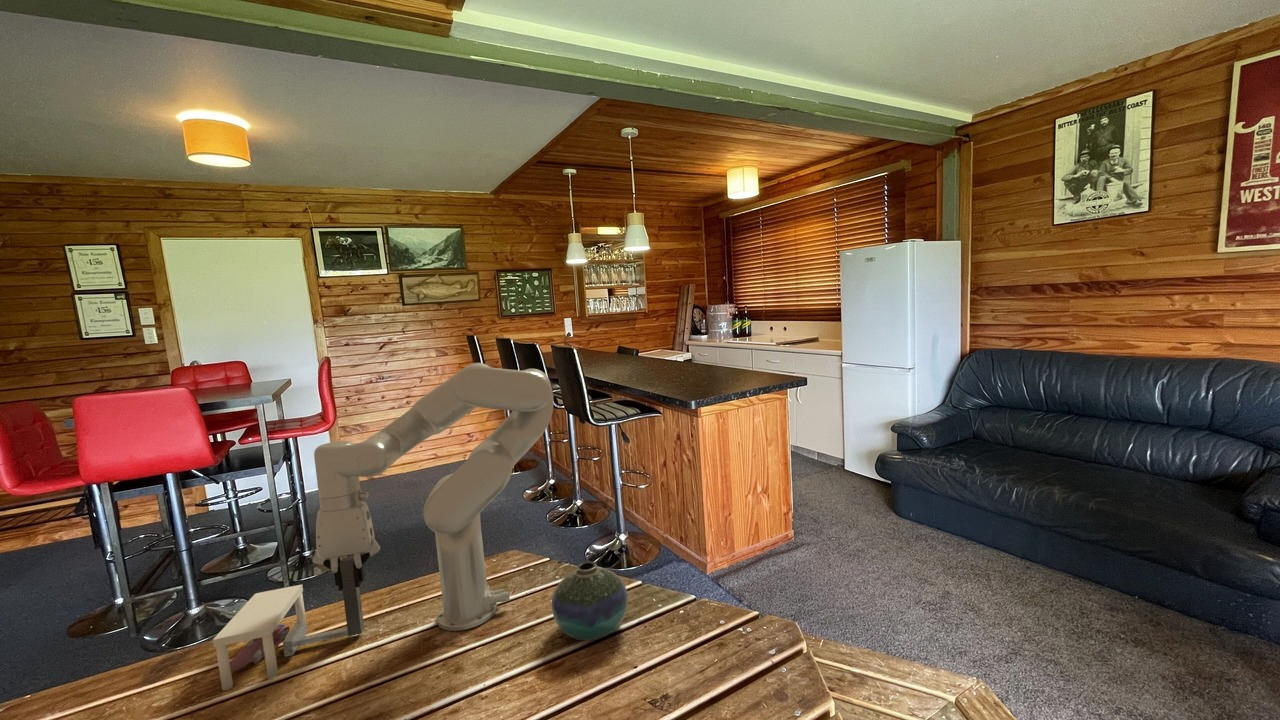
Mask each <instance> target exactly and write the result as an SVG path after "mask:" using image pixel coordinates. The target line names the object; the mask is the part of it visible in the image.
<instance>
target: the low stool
mask: <svg viewBox="0 0 1280 720" xmlns="http://www.w3.org/2000/svg"><path fill="white" fill-rule="evenodd" d="M303 592H304V588H303V584H298V585H293V586H292V585H291V586H287V587H281V588H277V589H272V590H267V591H261V592H257V593H254V594H253V595H252V597H251V598H250V599H249V600H248V601H247V602H246V603H245V604H244V605H243V606H242V607H241V609H239V611H238V612H236V614H235V615H234V616H233V617H232V618H231V619H230V620H229V621H228V622H227V624H226V625H225V626H224V627H223V628H222V629H221V630H220V631H219V632H218V634H216V636H214V638H213V639H212V643H213V648H215V649H216V657H217V658H216V659H217V664H218V665H217V666H218V671H219V678H220V684H221V690H222V692H224V691H227V690H230V689H232V688H233V686H234V683H233V678H232V669H231V667H230V663H231V661H230V657H229V650H228V645H233V644H236V643H242V642H246V641H247V642H248V641H250V640H252V639H256V638H261V637H262V641H263V648H264V649H263V651H264V661H265V668H266V676H267V680H268V679H271V678H274V677H276V676H277V675H278V676H279V671H278V665H277V657H276V650H275V649H274V642H273V635H272V632H273V631H274V630H275V628H276V627H277V626H278V624H281V622H282V620H283V619H284V618H285V616H286V615H287V613H288V612H289V611H290V609H291V608H292V607H293V605H294V608H295V616H296V617H295V618H296V622H297V621H301V620H305V623H306V631H307V630H308V627H307V626H308V625H307V619H306V618H307V617H306V611H305V603H304V596H303V595H304V594H303ZM278 676H277V677H278ZM277 677H276V678H277ZM274 679H275V678H274ZM271 680H272V679H271Z"/></svg>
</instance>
